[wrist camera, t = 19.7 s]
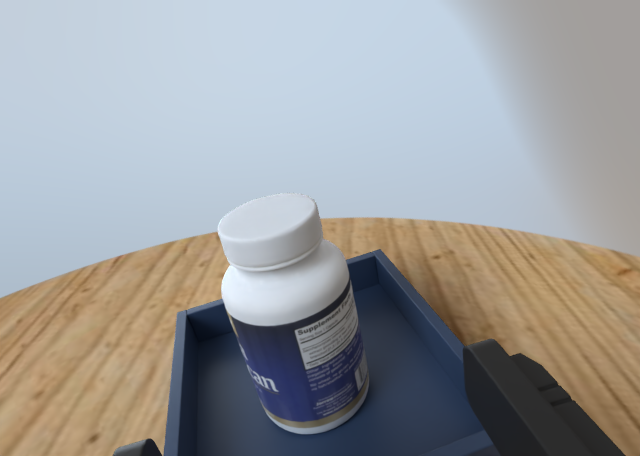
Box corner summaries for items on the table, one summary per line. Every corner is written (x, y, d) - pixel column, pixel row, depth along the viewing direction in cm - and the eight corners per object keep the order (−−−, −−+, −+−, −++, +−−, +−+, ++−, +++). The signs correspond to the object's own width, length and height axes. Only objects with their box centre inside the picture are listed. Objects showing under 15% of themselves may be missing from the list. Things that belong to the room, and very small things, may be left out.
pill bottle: (243, 393, 21) (177, 225, 17) (323, 336, 24) (284, 177, 20) (305, 464, 17) (239, 266, 13) (394, 385, 20) (363, 199, 16)
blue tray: (385, 282, 28) (380, 248, 27) (533, 475, 16) (535, 427, 14) (191, 345, 26) (177, 312, 25) (181, 622, 14) (150, 581, 13)
